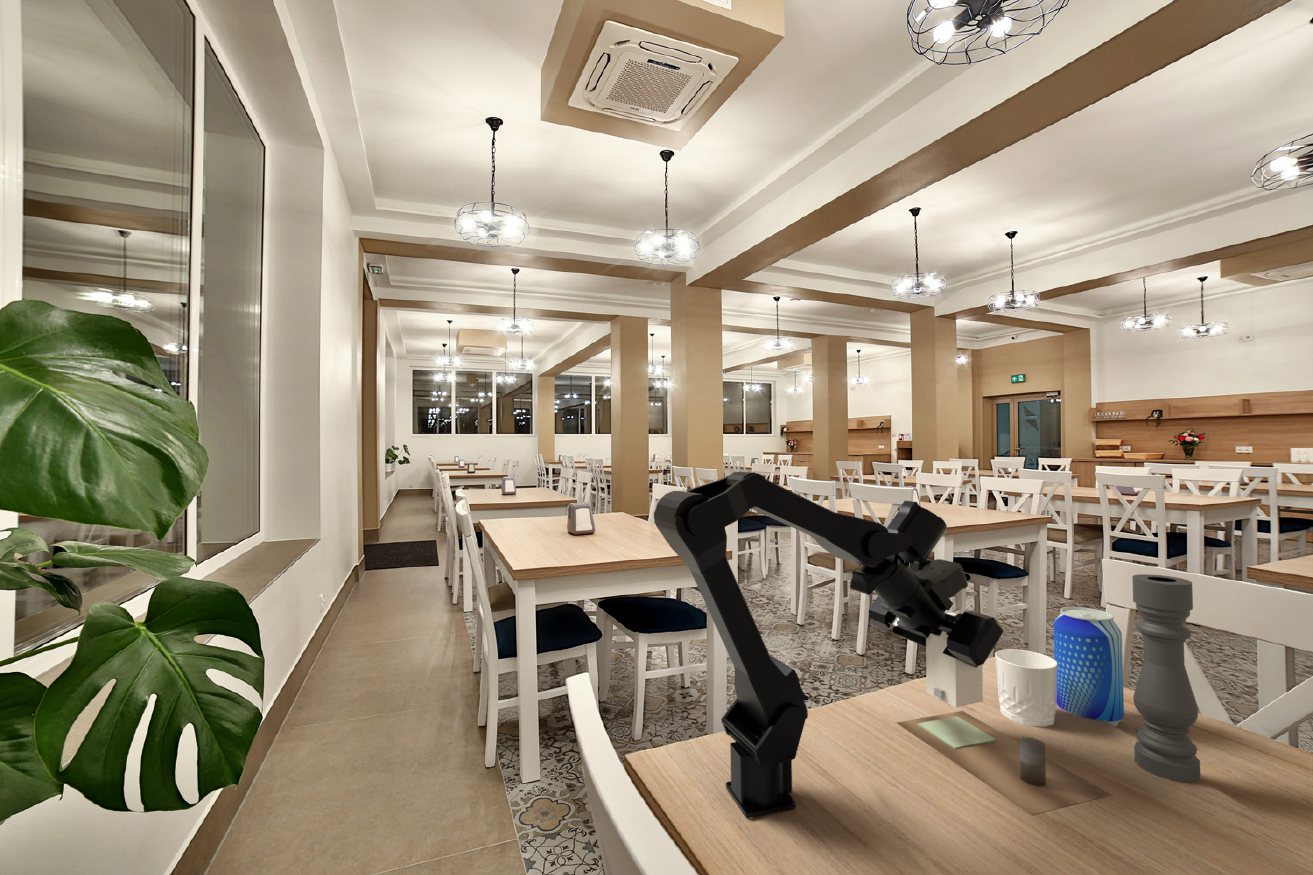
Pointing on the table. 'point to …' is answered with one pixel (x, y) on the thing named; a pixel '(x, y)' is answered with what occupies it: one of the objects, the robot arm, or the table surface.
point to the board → (1004, 762)
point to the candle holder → (1165, 679)
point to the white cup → (1027, 686)
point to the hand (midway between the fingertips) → (961, 657)
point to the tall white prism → (951, 675)
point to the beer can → (1089, 664)
